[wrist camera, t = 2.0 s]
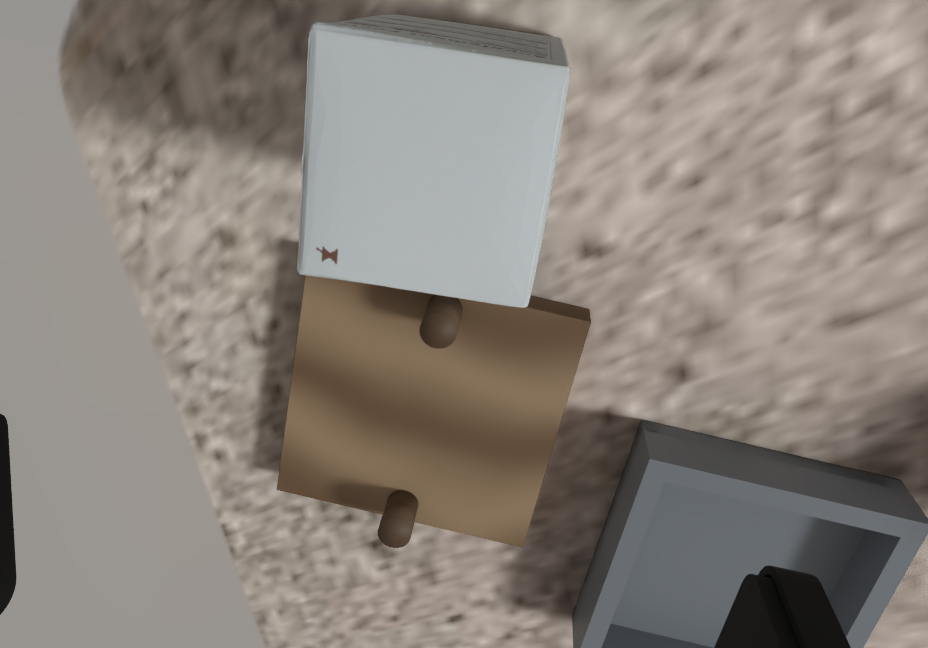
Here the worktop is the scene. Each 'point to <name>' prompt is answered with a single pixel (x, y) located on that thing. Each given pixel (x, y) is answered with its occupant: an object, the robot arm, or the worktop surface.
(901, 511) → the tray
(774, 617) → the robot arm
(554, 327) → the peg stand
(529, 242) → the supplement box
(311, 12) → the worktop surface
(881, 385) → the worktop surface
